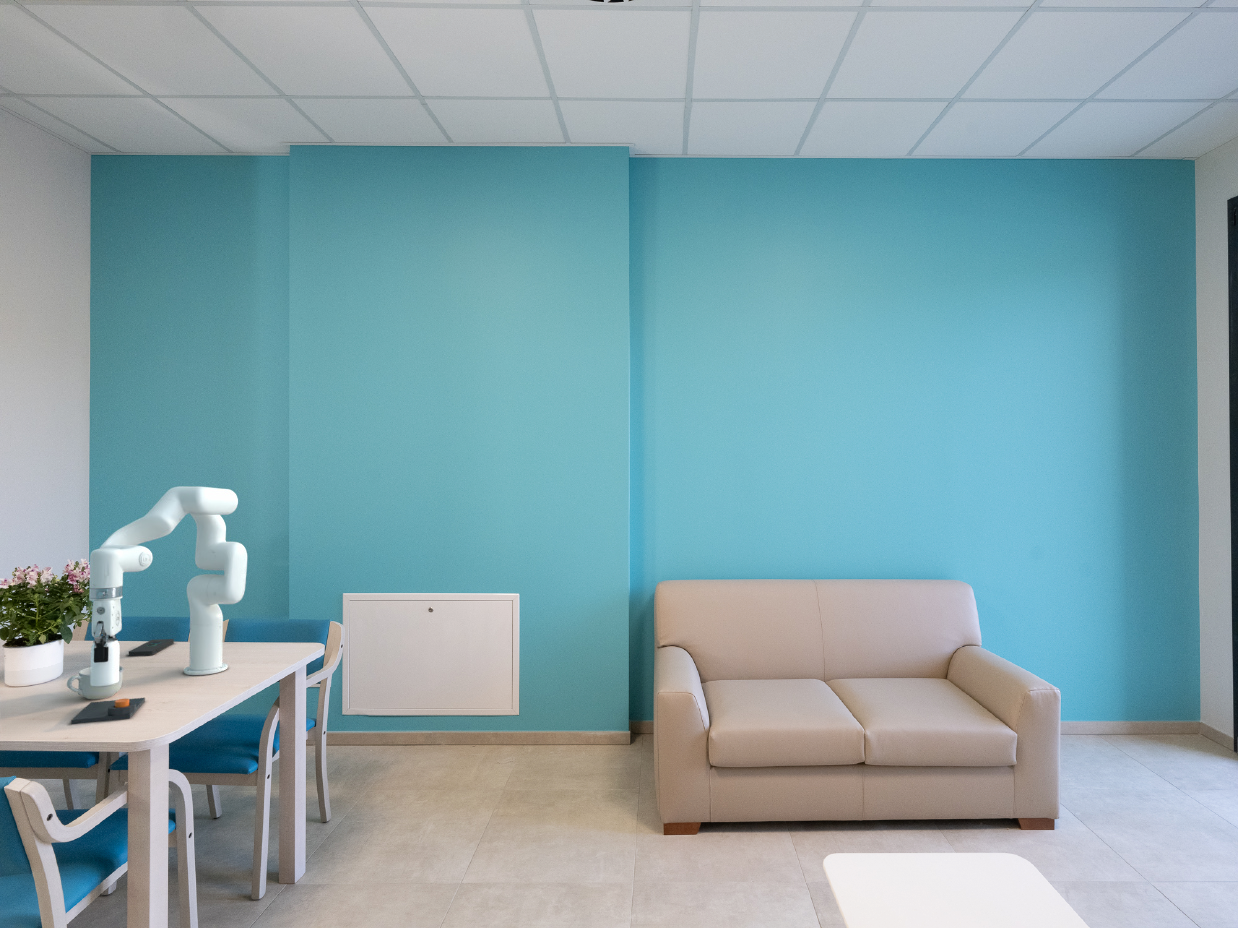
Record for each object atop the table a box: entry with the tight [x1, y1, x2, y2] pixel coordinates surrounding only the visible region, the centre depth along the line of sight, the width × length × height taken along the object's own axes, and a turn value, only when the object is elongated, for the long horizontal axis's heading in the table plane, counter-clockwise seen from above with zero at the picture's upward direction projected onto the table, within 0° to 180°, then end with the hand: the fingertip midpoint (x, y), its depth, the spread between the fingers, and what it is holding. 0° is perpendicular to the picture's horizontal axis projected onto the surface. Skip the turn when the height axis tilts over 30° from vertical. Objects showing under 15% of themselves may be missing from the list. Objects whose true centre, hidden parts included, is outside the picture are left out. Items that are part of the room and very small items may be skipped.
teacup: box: [66, 665, 124, 700], centre depth 215 cm, size 14×11×8 cm
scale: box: [70, 697, 146, 725], centre depth 202 cm, size 16×14×3 cm
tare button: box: [115, 698, 130, 708], centre depth 199 cm, size 3×3×2 cm
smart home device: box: [128, 638, 175, 657], centre depth 275 cm, size 8×2×20 cm
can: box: [90, 637, 120, 687], centre depth 204 cm, size 6×6×12 cm
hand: (105, 658), depth 204 cm, fingers closed on can, 6 cm apart
